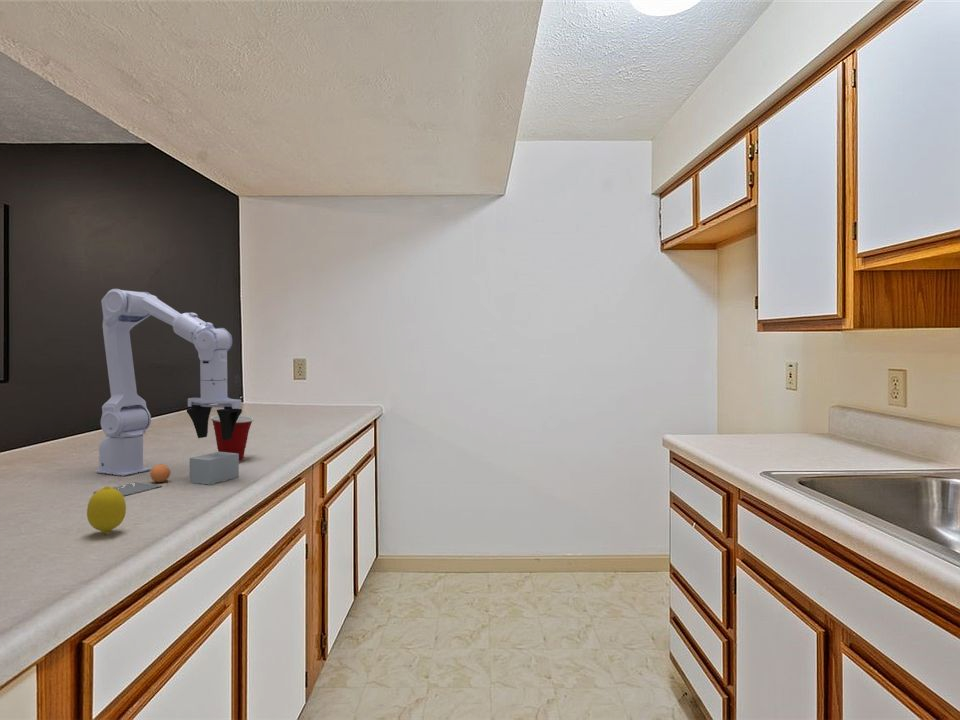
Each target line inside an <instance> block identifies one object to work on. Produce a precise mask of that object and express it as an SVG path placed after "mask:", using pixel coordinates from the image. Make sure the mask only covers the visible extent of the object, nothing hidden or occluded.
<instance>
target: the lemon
mask: <svg viewBox="0 0 960 720" xmlns="http://www.w3.org/2000/svg"><path fill="white" fill-rule="evenodd" d="M96 491H97V492H96ZM96 491H95V492H96V493H93V495H91V497H90V498H89V501H88V505H87V509H86V518H87V520H88V523H89V525H90V526H91V527H92V528H93V529H95V530H97V531H101V532H102V533H103V534H105V535H107V534H109V533H110V532H111V531H112V530H113V529H116V528H117V527H119V526H120V525H121V524H122V522H123V521H124V519H125V516H126V513H127V504H126V500H125V496H123V495H122V494H121V492H119V491H118V490H116V489H113V487H110V486H109V485H105V486H104V487H103V488H101V489H99V490H96Z"/></svg>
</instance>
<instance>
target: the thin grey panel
mask: <svg viewBox="0 0 960 720" xmlns="http://www.w3.org/2000/svg"><path fill="white" fill-rule="evenodd" d="M133 483H135V486H134V487H133V485H132V484H130V483H126V484H125V485H126V486H125V487H124V488H121V487H123V486H122V485H123V484H122V485H118V487H117V486H114V487H112V488H113V489H116V490H118V491H119V492H121V494H122V495H123V497H126V496H125V495H127V496H130V495H129V494H131V495H134V494H133V493H135V494H138V493H137V492H139V493H141V492H140V491H143V492H146V491H145V490H147V491H150V490H149V489H151V490H153V489H152V488H155V489H157V488H156V487H159V488H161V487H160V486H161V485H157V484H151V483H144V482H138V481H136V482H135V481H134V482H133ZM118 488H119V489H118ZM97 491H98V490H96V491H93V492H94V493H93V494H95V493H96V492H97Z"/></svg>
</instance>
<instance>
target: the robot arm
mask: <svg viewBox="0 0 960 720" xmlns="http://www.w3.org/2000/svg"><path fill="white" fill-rule="evenodd" d="M100 301H101V309H102V316H103V319H102V332H103V334H102V335H103V342H104V343H103V344H104V350H105V358H106V359H105V360H106V365H107V376H108V381H109V392H110V398H109V399H108V400H107V401H105V402H104V404H103V405H102V406H101V411H102V413H101V418H100V428H101V430H102V432H103V433H104V434H105V436H104V437H103V438H102V439H101V441H100V443H99V447H98V450H99V451H98V461H99V462H98V465H99V466H98V467H99V468H98V469H96V470H95V473H100V474H105V473H106V475H112V474H113V475H114V476H120V475H121V476H120V477H124V476H129V474H130V475H134V474H137V473H138V472H139V473H143V472H147V470H148V471H151V470H152V468H153V467H149V466H148V467H147V466H144V435H146V430H147V429H148V428H150V426H151V423H152V416H151V413H150V411H149V409H148V406H147V401H146V400H145V399H143V397H141V396H140V395H139V394H138V392H137V391H138V390H137V382H136V375H135V367H134V358H133V350H132V342H131V333H130V331H131V330H132V329H133V328H134V327H135V326H137V325H138V324H139V323H141V322H142V321H144V320H146V319H148V318H149V317H150V316H152V317H154V318H156V319H158V320H160V321H162V322H163V323H166V324H168V325H170V326H171V327H172V330H173V332H174V333H175V334H176V335H177V336H179V337H181V338H183V339H184V340H186V341H188V342H190V343H191V344H193V345H194V348H195V349H196V351H197V353H198V354H197V355H198V358H199V361H200V363H199V364H200V365H199V367H200V368H199V369H200V370H199V372H200V373H199V374H200V379H199V380H200V383H199V384H200V397H189V398H187V407H190V408H186V413H187V414H188V416H189V417H190V419H191V420H192V424H193V426H194V428H195V432H196V436H197V439H203V438H207V437H208V433H209V419H210V414H211V412H212V409H213V408H219V409H216V413H217V415H219V418H220V422H221V432H222V439H223V440H228V439H232V434H233V431H234V427H235V424H236V422H237V419H238V417H239V416H240V415H241V414H242V412H243V409H242V399H235V398H230V397H228V351H229V350H230V349H231V347H232V346H233V338H232V337H233V336H232V334H231V333H230V332H229V331H228V330H227V329H226V328H224V327H218V328H216V327H214V324H213V322H207V321H204V320H202V319H200V317H199V314H197V313H196V312H184V313H180V312H179V311H177V310H175V308H173V307H171V306H170V305H168V304H167V303H165V302H163V301H162V300H160V299H159V298H158V296H156V295H154V294H151V293H150V292H148V291H134V290H125V289H120V288H112V289H110V290H108V291H107V292H106V294H105V295H104V296H103V297H102V299H101V300H100ZM124 407H125V408H124ZM139 473H138V474H139ZM113 475H112V476H113Z"/></svg>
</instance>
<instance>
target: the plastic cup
mask: <svg viewBox="0 0 960 720" xmlns="http://www.w3.org/2000/svg"><path fill="white" fill-rule="evenodd" d="M210 419H211V421H212V425H213V430H214V434H215V443H216V447H217V452H228V453H237V454H239V462H242V461H243V460H244V457H245V451H246V448H247V442H248V438H249V431H250V428H251V427H252V426H251V425H252V422H253V421H254V419H255V418H254V417H252V416H249V415H241V414H240V416H239V417H238V419H237V422H236V424H235V427H234V431H233V434H232V439H228V440H223V439H222V432H221V422H220V418H219V415H218V414H217V415H212V416H210Z"/></svg>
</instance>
